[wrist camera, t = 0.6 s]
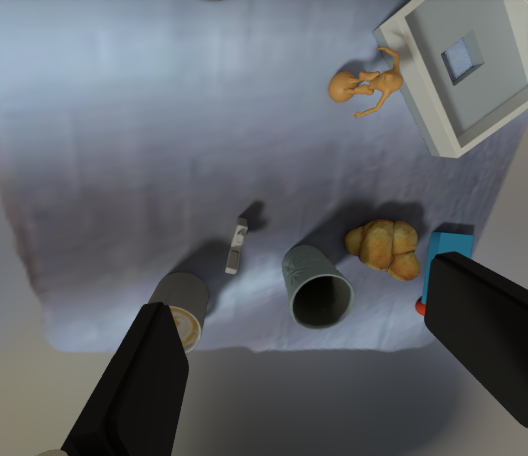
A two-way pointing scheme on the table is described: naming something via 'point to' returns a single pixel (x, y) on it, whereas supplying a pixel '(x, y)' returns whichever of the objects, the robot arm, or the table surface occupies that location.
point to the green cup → (316, 289)
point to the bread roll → (386, 247)
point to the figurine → (387, 83)
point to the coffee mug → (184, 305)
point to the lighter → (236, 245)
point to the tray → (471, 82)
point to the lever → (442, 245)
